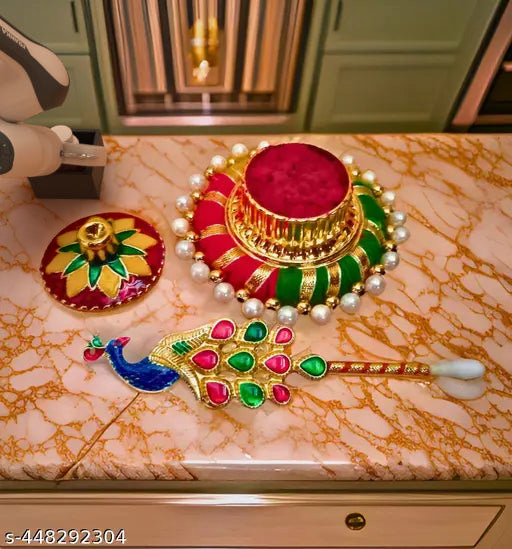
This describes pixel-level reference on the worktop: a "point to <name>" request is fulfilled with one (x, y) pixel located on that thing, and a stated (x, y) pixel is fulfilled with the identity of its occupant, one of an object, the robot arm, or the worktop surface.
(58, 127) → the pill bottle
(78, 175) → the trash bin
